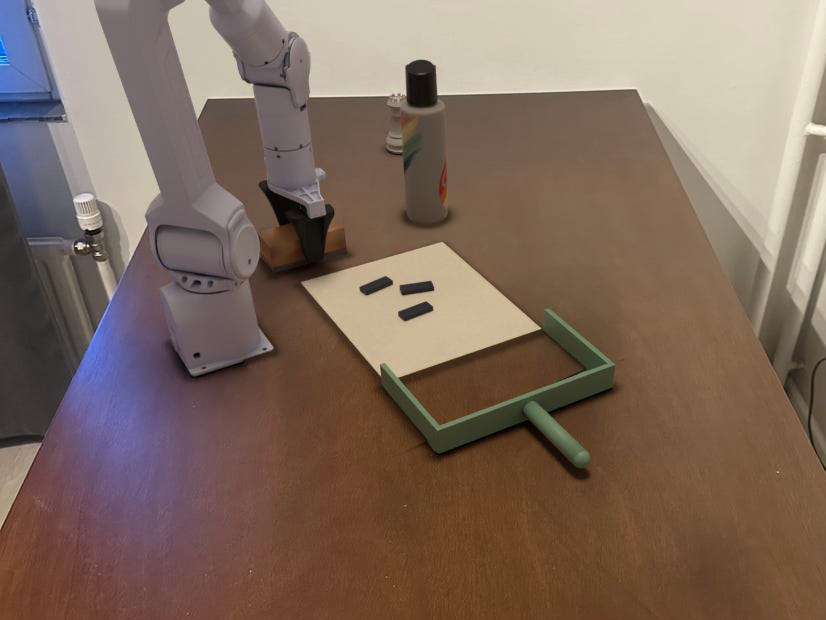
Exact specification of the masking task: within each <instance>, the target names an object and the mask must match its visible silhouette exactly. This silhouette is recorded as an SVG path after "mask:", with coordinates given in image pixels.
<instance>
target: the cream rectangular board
mask: <svg viewBox="0 0 826 620" xmlns="http://www.w3.org/2000/svg"><path fill="white" fill-rule="evenodd" d="M384 276H387V277H388V278H390V279H391V280H393V285H391V286H388V287H386V288H384V289H381V290H379V291H377V292H374V293H372V294H370V295H365V294H364V293H362V292H361V291H360V288H359V287H360V286H363V285H365V284H367V283H370V282H372V281H375V280H377V279H379V278H382V277H384ZM425 281H432V283H433V286H434V291H430V292H423V293H416V294H409V295H402V294H401V291H400V287H399V285H404V284H411V283H418V282H425ZM300 283H301V285H302V286H303V287H304V288H305V290H306V291H307V292H308V293H309V294H310V295H311V297H312V298H313V299H314V300H315V301H316V302H317V304H318V305H319V306H320V307H321V308H322V309H323V310H324V312H325V313H326V314H327V315H328V316H329V318H330V319H331V320H332V321H333V322H334V323H335V325H336V327H338V328H339V329H340V331H341V332H342V333H343V334H344V335H345V337H346V338H347V339H348V340H349V342H351V344H352V345H353V346H354V347H355V348H356V350H358V352H359V353H360V354H361V356H362V357H363V358H364V359H365V360H366V361H367V362H368V363H369V365H370V366H371V367H372V368H373V369H374V370H375V372H376V373H377V374H378V375H379V376H380V377H381V371H380V364H382V363H385V364H386V365H387V366H388V367H389V368H390V369H391V371H392V372H393V373H394V374H395V375H396V376H397V377H398V379H400V378H402V377H404V376H407V375H410V374H414V373H417V372H420V371H422V370H425V369H428V368H431V367H433V366H437V365H440V364H442V363H445V362H449V361H451V360H455V359H457V358H460V357H464V356H466V355H469V354H472V353H475V352H477V351H478V352H479V351H481V350H484V349H487V348H489V347H492V346H496V345H499V344H501V343H504V342H508V341H510V340H513V339H516V338H519V337H521V336H525V335H528V334H530V333H533V332H536V331H539V330H542V327H540V326H539V324H537V323H536V322H534V320H532V319H531V318H530V317H529V316H528V315H527V314H526V313H524V311H522V310H521V309H520V308H519V307H518V306H516V305H515V304H514V303H513V302H512V301H510V300H509V298H507V297H506V296H505V295H504V294H503V293H502V292H500V291H499V290H498V289H497V288H496V287H495V286H493V285H492V283H490V282H489V281H488V280H487V279H486V278H484V277H483V276H482V275H481V274H480V273H479V272H478V271H476V270H475V269H474V268H473V267H472V266H471V265H470V264H469V263H467V262H466V261H465V259H463V258H462V257H461V256H459V254H457V253H456V252H455V251H454V250H452V248H451V247H449V246H448V245H447V244H446V243H445V242H443V241H440V242H436V243H433V244H430V245H427V246H422V247H420V248H416V249H411V250H409V251H405V252H402V253H398V254H394V255H392V256H388V257H383V258H380V259H378V260H374V261H370V262H366V263H362V264H360V265H356V266H352V267H349V268H345V269H341V270H339V271H334V272H331V273H329V274H325V275H321V276H318V277H313V278H311V279H306V280H304V281H300ZM425 301H427V302H428V303H429V304H431V305H432V306H433V311H431V312H428V313H426V314H423V315H420V316H418V317H415V318H412V319H410V320H407V321H404V320H403V319H401V318H400V317H399V316H398V311H401V310H404V309H406V308H409V307H412V306H414V305H417V304H420V303H422V302H425Z"/></svg>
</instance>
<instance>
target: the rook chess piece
mask: <svg viewBox="0 0 826 620" xmlns="http://www.w3.org/2000/svg"><path fill="white" fill-rule="evenodd" d="M405 100H407V99H406V94H405V93H402V94H401V93H400V92H397V95H396V94H395V93H391V94H389V95H388V100H387V102H386V104H387V106H388V108H389V112H388V114H389V116H390V126H389V127H390V128H389V131H388V135H387V137H386V138H385V141H386V145H385V148H386V149H387V151H388V152H390V153H391V154H394V155H403V149H402V133H401V116H400V105H401V103H402V102H403V101H405Z"/></svg>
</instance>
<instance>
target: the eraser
mask: <svg viewBox="0 0 826 620" xmlns="http://www.w3.org/2000/svg"><path fill="white" fill-rule="evenodd" d="M256 232H257V234H258V237H259V242H260V256H261V259H262V260H263V262H264V263H265V264H266V266H267V267H268V268H269V270H271V272H272V273H273V274H276V273H280V272H284V271H287V270H290V269H295V268H297V267H302V266H305V265H309V264H310V263H308V262H307V261H306V259H305V257H304V254H303V251H302V248H301V245H300V241H299V238H298V235H297V233H296V231H295V229H294V227H293V225H292V223H291V224H287V225H283V226H279V225H278V226H275V227H272V228H268V229H263V230H259V231H256ZM345 232H346V231H345V227H344V226H343V225H342V224H341V223H340V222H339V221H338V220H337V219H336V218H335V216H334V217H333V219H332V221H331V223H330V226H329V228H328V232H327V237H326V244H325V252H324V258H323V260H326V259H330V258H334V257H338V256H341V255H345V254H347V253H348V249H347V242H346V233H345Z"/></svg>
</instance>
